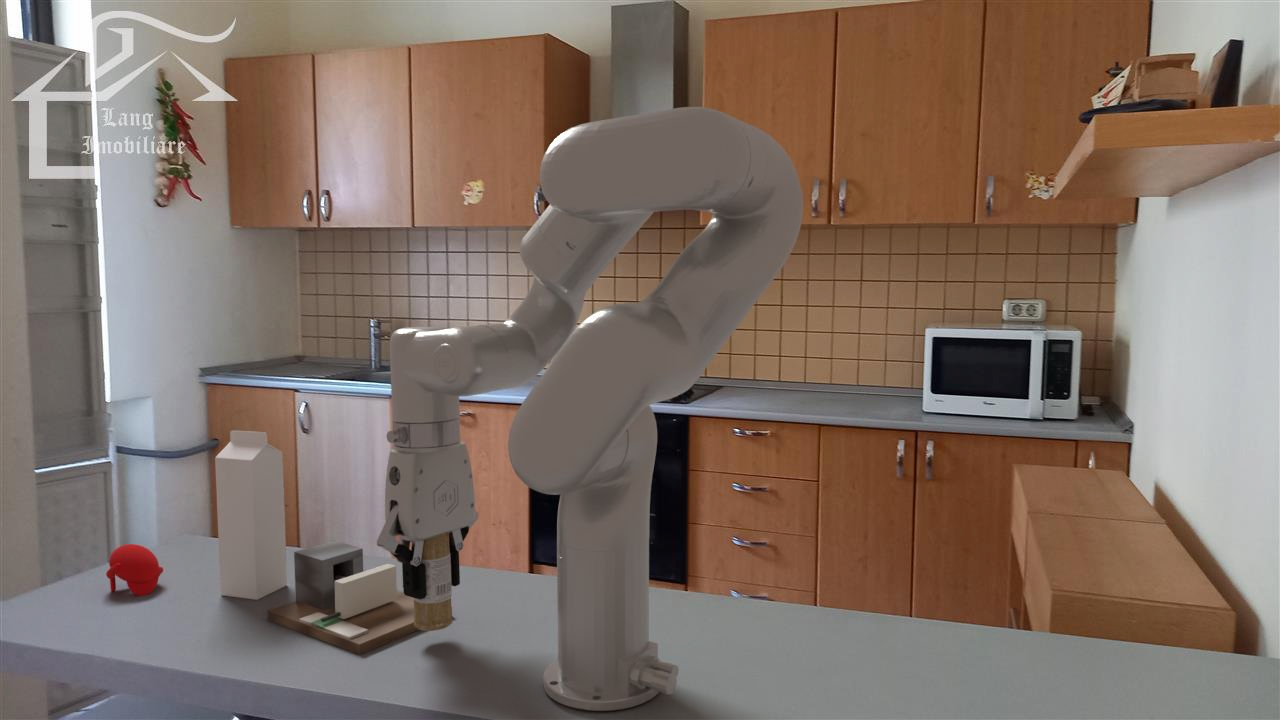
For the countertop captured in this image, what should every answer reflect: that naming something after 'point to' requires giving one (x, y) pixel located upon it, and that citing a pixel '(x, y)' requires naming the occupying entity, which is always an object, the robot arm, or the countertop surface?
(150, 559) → the cap
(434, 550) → the sprinkles bottle
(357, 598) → the spring plunger
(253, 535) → the milk
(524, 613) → the countertop surface
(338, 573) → the gauge frame
